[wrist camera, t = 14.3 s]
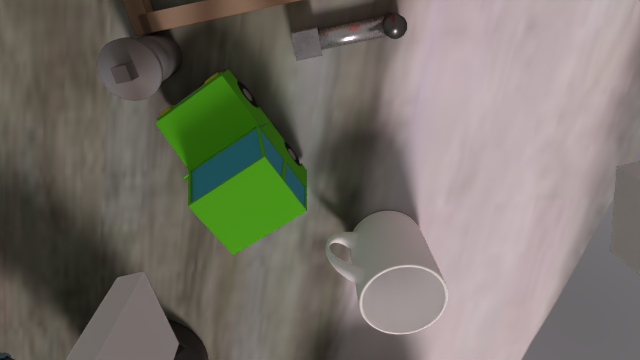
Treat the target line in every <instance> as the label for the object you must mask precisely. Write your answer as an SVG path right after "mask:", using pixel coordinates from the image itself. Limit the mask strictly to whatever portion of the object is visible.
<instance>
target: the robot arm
mask: <svg viewBox="0 0 640 360" xmlns="http://www.w3.org/2000/svg"><path fill="white" fill-rule="evenodd" d="M610 251H611V252H612V253H613V254H614V255H615V256H616V257H618V258H619V259H620V260H621V261H623V262H624V263H625V264H626V265H628V266H629V267H630V268H631V269H633V270H634V271H635V272H636V273H638V274H639V275H640V161H639V162H634V163H630V164H625V165H621V166H617V169H616V182H615V194H614V207H613V220H612V232H611V245H610ZM0 360H14V359H12V358H11V355H10V354H8V353H1V352H0ZM66 360H208V355H207V352H206V349H205V347H204V346H203V344H202V342H201V341H200V340H199V339H198V338H197V337H196V336H195V335H194V334H193V333H192V332H191V331H189V330H188V329H186V328H185V327H183V326H181V325H179V324H177V323H175V322H172V321H170V320H167V318H166V316H165V314H164V312H163V310H162V308H161V306H160V304H159V302H158V300H157V298H156V296H155V294H154V292H153V290H152V287H151V285H150V283H149V281H148V279H147V277H146V275H145V273H144V272H139V273H135V274H130V275H126V276H121V277H117V279H116V280H115V282H114V283H113V285H112V287H111V288H110V290H109V291H108V293H107V295H106V296H105V298H104V299H103V301H102V302H101V304H100V306H99V307H98V309H97V310H96V312H95V314H94V315H93V317H92V318H91V320H90V322H89V323H88V325H87V326H86V328H85V329H84V331H83V333H82V334H81V336H80V337H79V339H78V341H77V342H76V344H75V345H74V347H73V348H72V350H71V352H70V353H69V355H68V356H67V358H66Z"/></svg>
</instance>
